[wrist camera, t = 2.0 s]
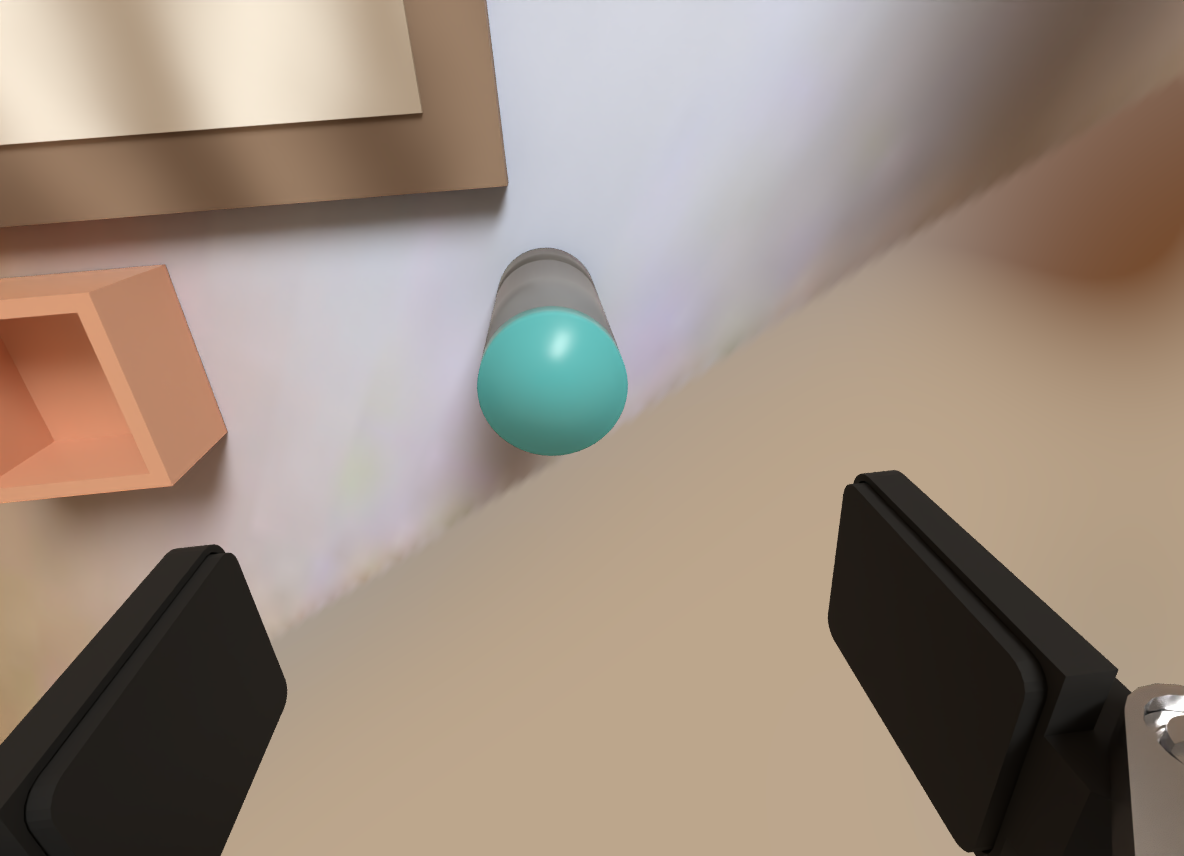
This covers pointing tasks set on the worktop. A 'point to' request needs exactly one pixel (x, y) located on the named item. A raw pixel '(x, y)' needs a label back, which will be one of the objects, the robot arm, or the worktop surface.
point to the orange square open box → (99, 385)
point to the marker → (550, 358)
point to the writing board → (240, 104)
